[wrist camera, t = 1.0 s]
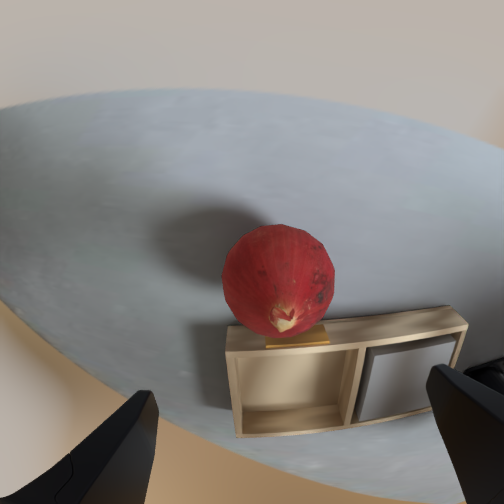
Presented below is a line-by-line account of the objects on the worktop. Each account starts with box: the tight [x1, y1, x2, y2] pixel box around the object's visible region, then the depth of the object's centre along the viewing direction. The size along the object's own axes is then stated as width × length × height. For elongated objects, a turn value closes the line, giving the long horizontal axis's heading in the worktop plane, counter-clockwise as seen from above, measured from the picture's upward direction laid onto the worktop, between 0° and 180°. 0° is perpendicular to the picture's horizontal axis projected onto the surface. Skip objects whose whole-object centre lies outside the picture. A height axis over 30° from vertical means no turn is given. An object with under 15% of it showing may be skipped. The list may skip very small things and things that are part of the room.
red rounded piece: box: [222, 224, 335, 338], centre depth 16 cm, size 6×6×8 cm
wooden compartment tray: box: [225, 305, 469, 438], centre depth 22 cm, size 18×9×3 cm, turn 93°
